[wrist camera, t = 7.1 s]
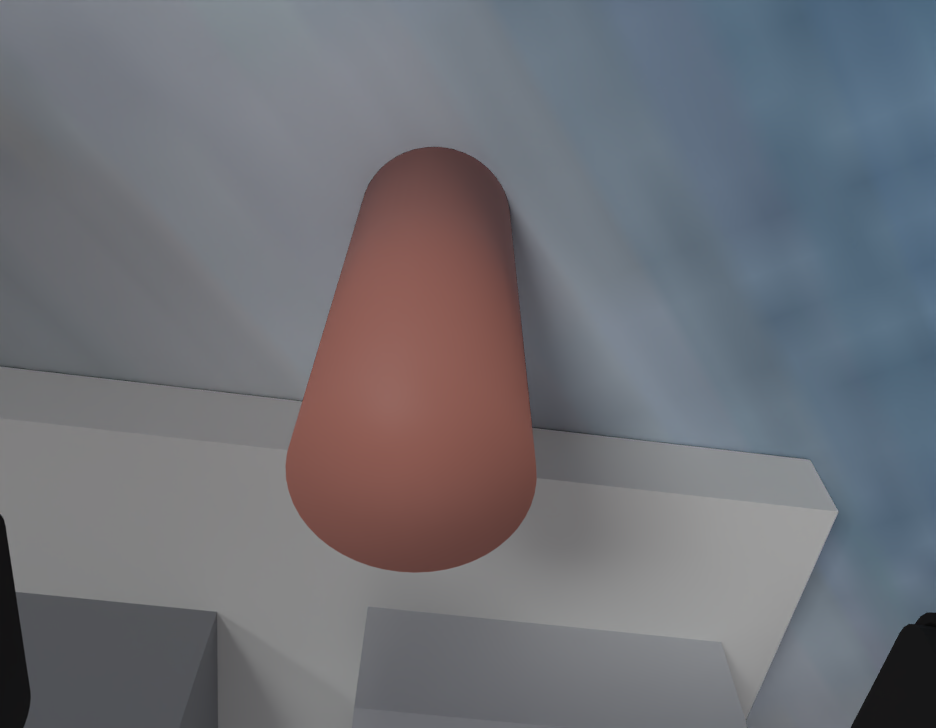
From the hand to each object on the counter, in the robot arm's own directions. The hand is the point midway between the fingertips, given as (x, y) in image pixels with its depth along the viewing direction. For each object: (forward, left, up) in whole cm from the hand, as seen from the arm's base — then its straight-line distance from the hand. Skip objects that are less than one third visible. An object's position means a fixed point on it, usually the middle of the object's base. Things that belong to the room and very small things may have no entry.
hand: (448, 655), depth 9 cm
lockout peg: (0, -1, -12) cm, 12 cm away
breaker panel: (+14, -3, -12) cm, 18 cm away
